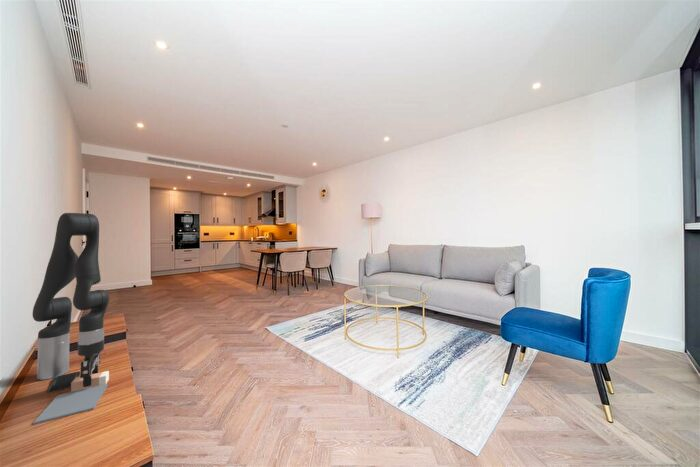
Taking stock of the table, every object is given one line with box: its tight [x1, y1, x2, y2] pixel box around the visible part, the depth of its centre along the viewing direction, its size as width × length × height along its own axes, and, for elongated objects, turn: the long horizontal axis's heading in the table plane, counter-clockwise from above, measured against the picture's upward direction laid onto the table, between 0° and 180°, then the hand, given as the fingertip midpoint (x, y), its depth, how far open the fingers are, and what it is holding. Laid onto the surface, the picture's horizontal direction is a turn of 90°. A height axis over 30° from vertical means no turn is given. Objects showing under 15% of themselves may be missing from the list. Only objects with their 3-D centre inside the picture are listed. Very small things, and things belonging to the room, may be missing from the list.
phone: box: [47, 371, 81, 394], centre depth 108 cm, size 8×1×15 cm
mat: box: [32, 383, 109, 426], centre depth 94 cm, size 18×14×1 cm
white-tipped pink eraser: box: [70, 370, 110, 392], centre depth 106 cm, size 10×5×4 cm, turn 121°
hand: (90, 381), depth 105 cm, fingers open, 8 cm apart
